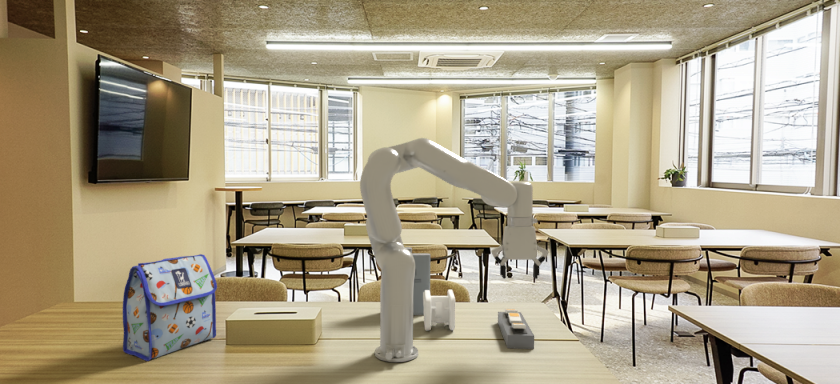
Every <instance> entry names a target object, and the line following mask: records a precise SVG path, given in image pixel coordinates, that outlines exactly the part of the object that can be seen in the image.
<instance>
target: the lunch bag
mask: <svg viewBox="0 0 840 384" xmlns="http://www.w3.org/2000/svg"><path fill="white" fill-rule="evenodd" d="M129 269H130V270H129V273H128V278H127V280H126V283H125V286H124V291H123V297H122V327H123V337H122V338H123V339H122V350H123V353H125V354H128V355H132V356H135V357H137V358H139V359H141V360H144V361H145V362H149V361H151V360H153V359H157V358H159V357H162V356H165V355H168V354H170V353H173V352H176V351H178V350H181V349H185V348H188V347H190V346H192V345H193V346H194V345H196V344H199V343H202V342H206V341H207V340H210V339H215V338H216V336H217V313H216V311H217V308H216V306H217V305H216V291H217V288H218V284H217V280H216V278H215V274H214V273H213V270H212V268H211V265H210V264H209V261H208V259H207V257H206V256H205V254H201V253H200V254H196V255H184V256H178V257H169V258H163V259H161V260H156V261H150V262H140V263H137V265H133V266H132V267H131V268H129Z"/></svg>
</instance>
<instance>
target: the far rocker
mask: <svg viewBox="0 0 840 384" xmlns="http://www.w3.org/2000/svg"><path fill="white" fill-rule="evenodd" d="M504 312H506V313H518V312H519V311H518V310H517V309H515V308H505V309H504Z"/></svg>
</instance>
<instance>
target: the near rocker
mask: <svg viewBox="0 0 840 384" xmlns="http://www.w3.org/2000/svg"><path fill="white" fill-rule="evenodd" d="M512 327H513V328H526V325H525V324H522V323H512Z"/></svg>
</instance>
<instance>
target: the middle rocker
mask: <svg viewBox="0 0 840 384" xmlns="http://www.w3.org/2000/svg"><path fill="white" fill-rule="evenodd" d="M508 317H509V321H510V323H521V322H522V321H521V317H520V314H519V313H508Z"/></svg>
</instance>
